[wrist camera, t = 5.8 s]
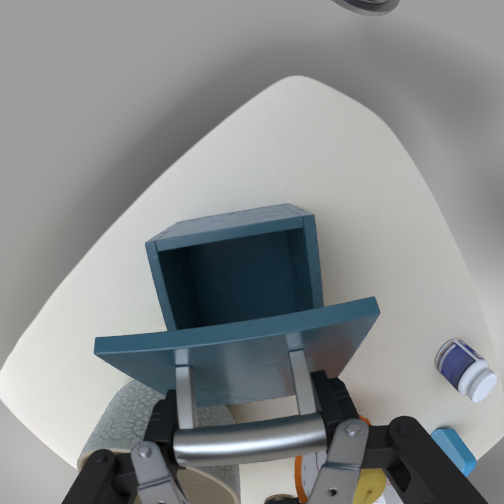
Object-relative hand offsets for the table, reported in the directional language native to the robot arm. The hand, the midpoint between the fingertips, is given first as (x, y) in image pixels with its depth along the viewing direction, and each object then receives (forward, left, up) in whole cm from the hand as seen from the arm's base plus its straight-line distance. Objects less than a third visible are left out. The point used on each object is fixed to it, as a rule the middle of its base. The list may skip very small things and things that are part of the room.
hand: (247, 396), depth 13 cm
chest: (0, 0, -19) cm, 19 cm away
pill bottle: (+18, +28, -19) cm, 38 cm away
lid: (+1, 0, -3) cm, 4 cm away
